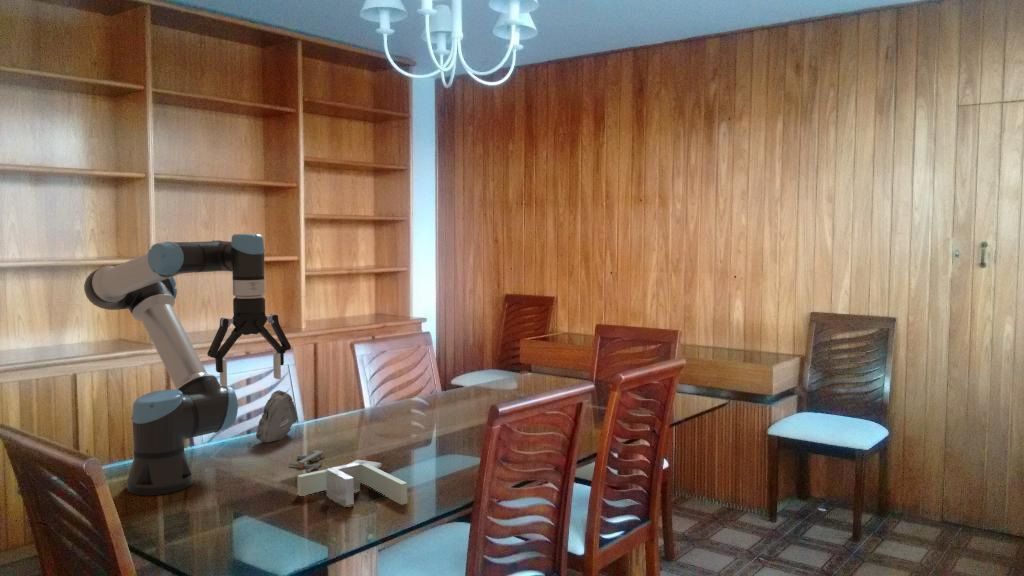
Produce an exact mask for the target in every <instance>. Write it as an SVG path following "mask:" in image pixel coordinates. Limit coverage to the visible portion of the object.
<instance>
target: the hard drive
mask: <svg viewBox="0 0 1024 576" xmlns="http://www.w3.org/2000/svg"><path fill="white" fill-rule="evenodd" d="M359 462H365V463H367V464H369V465H371V466H373V467H376V468H378V469H379V468H381V467H382V463H381V462H377V461H369V460H362V459H356V460H354V461H352V462H349V463H348V464H352V463H359Z"/></svg>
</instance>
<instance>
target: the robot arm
mask: <svg viewBox="0 0 1024 576" xmlns="http://www.w3.org/2000/svg"><path fill="white" fill-rule="evenodd" d="M264 245H265V243H264V237H263V235H261V234H260V233H234V234H233V235H232V236H231V241H229V240H228V241H227V240H218V239H217V240H209V241H182V242H181V241H177V242H176V241H166V242H165V241H164V242H157V243H154V244H152V245H151V247H150V249H148V252H146V253H144V254H142V255H140V256H137V257H135V258H132V259H130V260H128V261H125V262H122V263H121V264H118V265H114V266H113V265H112V266H111V265H106V266H102V267H100V268H97V269H95V270H93V271H92V272H91V273H89V274H88V276H87V277H86V279H85V281H84V285H83V286H84V287H83V291H84V295H85V297H86V299H87V300H89V302H90V303H91V304H92V305H94V306H96V307H97V308H100V309H104V310H110V311H119V310H120V311H121V310H129V311H130V313H131V315H132V317H133V318H134V320H136V321H140V322H142V324H143V326H144V328H145V330H146V332H147V333H148V335H149V338H150V340H151V342H152V344H153V346H154V348H155V349H156V351H157V354H158V355H159V358H160V359H161V362H162V363H163V365H164V367H165V370H166V371H167V374H168V375H169V378H170V379H171V381H172V383H173V385H174V387H175V389H172V388H169V389H164V390H155V391H151V392H148V393H145V394H142V395H141V396H139V397H138V398H136V399H135V400H134V401H133V403H132V411H131V421H132V441H133V443H132V445H133V460H132V463H131V467H130V470H129V474H128V477H127V480H126V488H127V489H126V490H127V492H129V493H130V494H131V495H136V496H159V495H161V496H162V495H167V494H173V493H177V492H180V491H182V490H185V489H187V488H189V487H190V486H191V485H192V484H193V483H194V479H193V471H192V469H191V466H190V464H189V461H188V458H187V456H186V453H185V440H188V439H192V438H195V437H199V436H200V437H201V436H204V435H208V434H213V433H218V432H220V431H224V430H227V429H229V428H230V427H231V426H233V424H234V423H235V421H236V419H237V417H238V410H239V402H238V401H239V400H238V397H237V394H236V391H235V390H234V388H232V386H229V385H228V372H227V371H228V369H227V368H228V367H227V366H228V365H227V364H228V363H227V359H226V358H225V357H226V355H228V353H229V351H230V349H231V348H232V347H233V346H234V344H236V341H238V339H239V338H241V336H242V335H244V336H250V335H258V334H260V335H261V336H262V337H263V338H264V339H265V340H266V341H267V342H268V343H269V345H270V346H271V347H272V348H273V350H275V351H274V352H273V353H272V354H273V355H272V357H273V367H272V368H273V378H274V379H276V380H282V373H281V372H282V371H281V370H282V369H281V368H282V367H281V366H283V365H284V363H285V358H284V357H285V355H284V354H285V353H286V352H287V351H288V350H289V351H290V350H291V348H292V346H291V344H290V342H289V339H288V338H287V336H286V334H285V332H284V331H283V329H282V326H281V324H280V321H279V316H278V314H274V313H270V314H269V315H266V298H265V297H264V295H266V293H265V292H266V286H265V285H266V283H265V281H266V280H265V252H266V251H265V246H264ZM207 272H210V273H211V272H232V274H231V275H232V296H234V298H233V299H232V306H233V307H232V311H233V314H232V315H233V316H232V318H225V317H220V319H219V327H218V330H217V332H216V334H215V336H214V338H213V341H212V343H211V344H210V347H209V349H208V351H207V353H206V355H207V357H210V358H213V359H215V371H216V373H219V381H218V379H217V377H216V375H214V374H209V373H208V372H207V370H206V369H205V367H204V364H203V363H202V361H201V359H200V357H199V355H198V353H197V352H196V350H195V348H194V345H193V344H192V342H191V340H190V338H189V336H188V334H187V333H186V331H185V329H184V327H183V325H182V323H181V321H180V319H179V316H178V315H177V313H176V312H175V310H174V306H175V302H176V299H177V295H178V293H177V292H178V288H177V287H176V286H177V283H176V280H175V276H178V275H182V274H191V273H195V274H196V273H207ZM267 322H268V324H270V325H271V327H272V330H273V331H274V333H275V335H276V337H277V339H275V338H274V336H273V335H272V334H271V333H270V332H269V330H268V329H267V328H266V327H265V324H266V323H267ZM232 325H233V326H234V328H233V330H232V331H231V333H230V335H229V336H228V337H227V339H225V336H226V334H227V332H228V329H229V328H230V326H232ZM224 339H225V341H224V342H223V340H224ZM277 340H278V341H279V342H280V343H279V342H278V341H277ZM222 343H223V344H222ZM221 344H222V345H221Z"/></svg>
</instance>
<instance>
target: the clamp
mask: <svg viewBox="0 0 1024 576" xmlns="http://www.w3.org/2000/svg"><path fill="white" fill-rule="evenodd" d="M319 458H321V459H324V458H325V452H324V450H318V449H315V450H313V451H311V454H310V455H306V454H298V455H297V456H296V459H297V460H299V461H297V463H296V462H288V465H289V466H293V467H299V468H298V469H300V468H302V469H304V468H306V469H305V470H304V471H305V474H306V473H310V471H312V470H316V469H317V470H319V468H320V467H322V466H323V462H318V464H314V463H313V464H307V463H308V462H309V461H311V462H312V461H315V462H317V461H319V460H320V459H319ZM305 463H306V464H305ZM303 467H304V468H303Z"/></svg>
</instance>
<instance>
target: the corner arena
mask: <svg viewBox="0 0 1024 576" xmlns="http://www.w3.org/2000/svg"><path fill="white" fill-rule="evenodd" d="M358 464H360V484H361V483H362V484H361V485H363V484H365V485H367V486H369V487H371V488H373V489H375V490H376V491H378V492H380V493H382V494H383V495H382V494H381V495H382V496H384V495H385V496H384V497H385V498H387V497H388V499H389V500H391V501H393V502H395V503H397V504H399V505H401V506H403V505H407V504H408V482H406V481H404V480H402V479H401V478H397V476H393V475H392V474H390V473H388V472H385V471H383V470H381V469H379V468H376V467H373V466H371V465H369V464H367V463H365V462H359V463H358ZM326 469H327V468H325V469H322V470H321V469H320V470H318V471H317V470H315V471H312V472H308V473H306V472H305V473H303V474H302V473H301V474H297V476H296V477H297V478H296V479H297V483H296V484H297V496H298V495H299V496H304V497H306V496H305V495H308V494H312V493H315V492H319V491H323V490H327V488H326ZM365 485H364V486H365ZM367 486H366V487H367ZM369 487H368V488H369ZM371 488H370V489H371ZM376 491H375V492H376ZM378 492H377V493H378ZM380 493H379V494H380ZM312 495H313V494H312ZM299 496H298V497H299ZM308 496H309V495H308Z"/></svg>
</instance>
